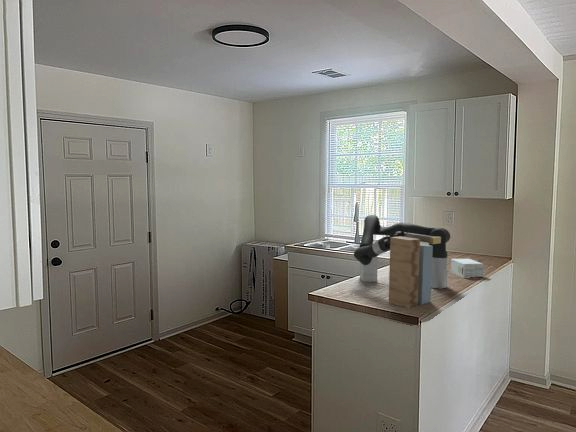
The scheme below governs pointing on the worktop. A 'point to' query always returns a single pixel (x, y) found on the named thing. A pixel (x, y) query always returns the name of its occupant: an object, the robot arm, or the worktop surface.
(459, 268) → the supplement box
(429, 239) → the grey and tan bar
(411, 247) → the brown wooden tall block
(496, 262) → the worktop surface
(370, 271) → the supplement box
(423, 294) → the light blue tall block
